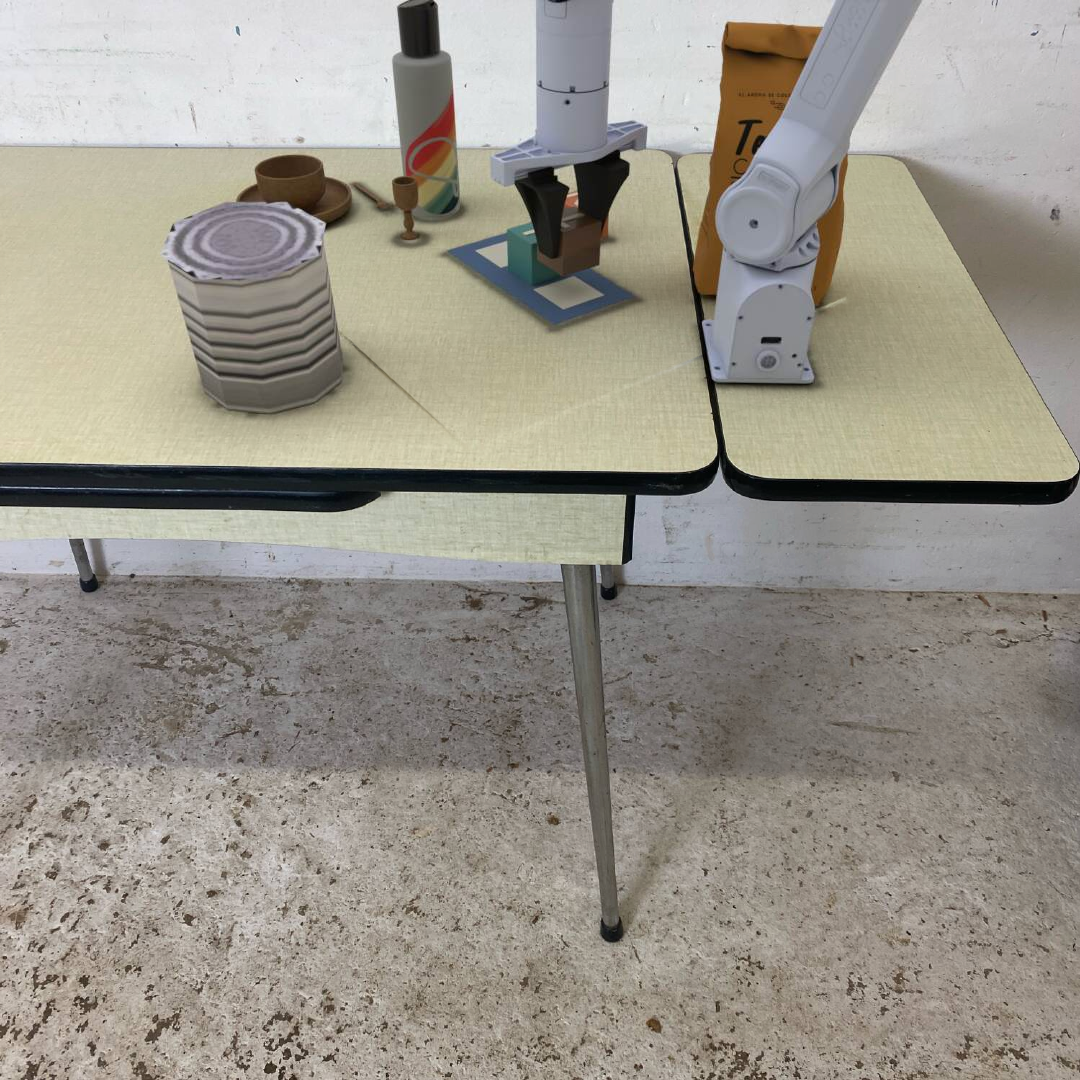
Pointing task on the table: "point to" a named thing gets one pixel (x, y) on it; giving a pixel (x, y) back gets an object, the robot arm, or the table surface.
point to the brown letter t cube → (575, 243)
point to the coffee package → (759, 135)
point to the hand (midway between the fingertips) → (569, 247)
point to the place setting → (321, 190)
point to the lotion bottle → (426, 110)
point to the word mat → (546, 298)
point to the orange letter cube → (573, 201)
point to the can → (257, 304)
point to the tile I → (526, 255)
